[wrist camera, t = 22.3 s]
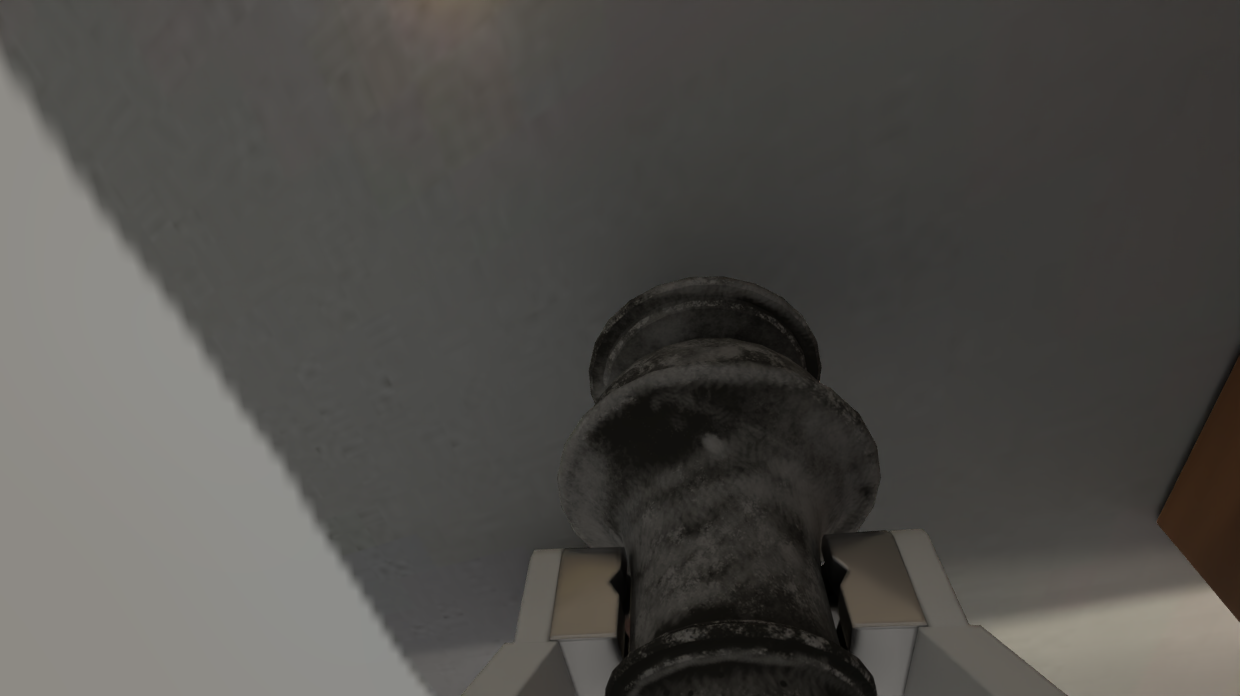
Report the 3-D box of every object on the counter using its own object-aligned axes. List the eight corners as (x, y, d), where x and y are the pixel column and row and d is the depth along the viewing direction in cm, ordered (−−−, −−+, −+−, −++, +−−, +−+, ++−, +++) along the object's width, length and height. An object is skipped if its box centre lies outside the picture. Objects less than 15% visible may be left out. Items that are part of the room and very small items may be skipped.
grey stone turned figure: (759, 493, 17) (918, 1342, 7) (546, 430, 16) (362, 1305, 6) (886, 316, 13) (1540, 1425, 4) (627, 223, 13) (533, 1373, 3)
